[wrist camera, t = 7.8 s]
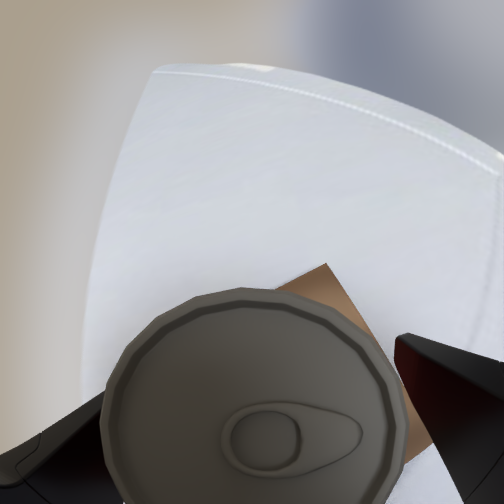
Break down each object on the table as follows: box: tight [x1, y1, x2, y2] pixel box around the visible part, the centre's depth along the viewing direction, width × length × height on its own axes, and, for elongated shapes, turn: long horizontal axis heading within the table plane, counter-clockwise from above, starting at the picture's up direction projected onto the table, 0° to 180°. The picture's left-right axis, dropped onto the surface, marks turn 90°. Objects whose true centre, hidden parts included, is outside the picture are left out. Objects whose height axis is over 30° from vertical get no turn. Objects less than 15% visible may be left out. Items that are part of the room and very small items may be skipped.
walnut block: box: [275, 263, 433, 464], centre depth 15 cm, size 14×14×2 cm
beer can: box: [99, 287, 410, 504], centre depth 9 cm, size 7×7×12 cm
